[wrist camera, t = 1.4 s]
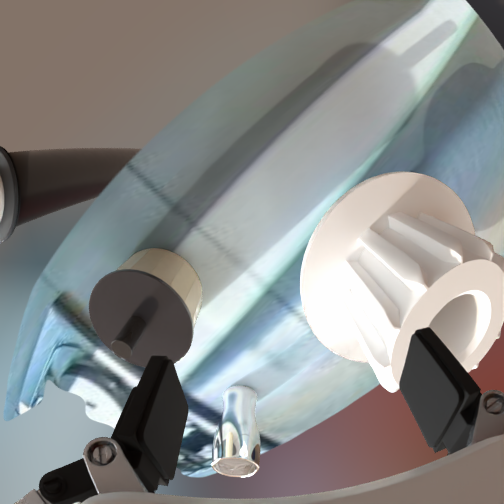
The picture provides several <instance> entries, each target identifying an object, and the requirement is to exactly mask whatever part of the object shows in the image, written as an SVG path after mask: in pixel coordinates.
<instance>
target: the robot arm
mask: <svg viewBox="0 0 504 504" xmlns="http://www.w3.org/2000/svg"><path fill="white" fill-rule="evenodd" d="M3 211H4V187H3V182H2V179H1V176H0V221H1V219H2V216H3ZM399 387H400V390H401V392H402V394H403V396H404V398H405V400H406V402H407V404H408V406H409V408H410V410H411V412H412V414H413V415H414V417H415V420H416V421H417V423H418V426H419V427H420V429H421V432H422V434H423V436H424V438H425V440H426V442H427V444H428V446H429V447H431V448H433V450H434V452H435V453H436V452H438V451H441V450H443V449H445V448H447V450H448V454H447V456H446V457H444V458H441V459H439V460H436V461H434V462H431V463H428V464H426V465H423V466H421V467H418V468H415V469H412V470H410V471H407V472H404V473H401V474H397V475H394V476H391V477H388V478H385V479H381V480H377V481H374V482H370V483H366V484H362V485H357V486H353V487H348V488H344V489H339V490H333V491H328V492H322V493H315V494H308V495H300V496H291V497H279V498H264V499H214V498H195V497H184V496H174V495H164V494H157V493H156V490H157V488H158V485H164V486H168V483H169V480H173V478H174V475H175V470H176V466H177V461H178V456H179V452H180V447H181V443H182V438H183V434H184V429H185V425H186V420H187V416H188V404H187V401H186V399H185V396H184V393H183V390H182V387H181V385H180V382H179V379H178V376H177V373H176V370H175V367H174V364H173V361H172V360H171V359H168V357H167V356H156V355H153V356H151V358H150V360H149V362H148V364H147V366H146V368H145V370H144V373H143V375H142V377H141V379H140V381H139V384H138V386H137V387H134V388H133V389H132V391H131V393H130V395H129V398H128V400H127V402H126V404H125V407H124V409H123V411H122V413H121V416H120V418H119V420H118V422H117V425H116V427H115V429H114V432H113V434H112V436H111V438H108V437H100V438H96V439H94V440H92V441H90V442H89V443H88V444H87V445H86V447H85V449H84V453H83V456H84V458H82V459H80V460H78V461H76V462H73V463H71V464H68V465H66V466H64V467H61V468H58V469H56V470H53V471H51V472H48V473H47V474H45V475H44V476H43V477H42V478H41V480H40V483H39V490H38V491H36V490H35V489H33V490H32V491H31V492H29V493H28V494H27V495H25V496H24V497H23V498H21V499H20V500H19V501H17V502H16V503H14V504H504V393H502V392H501V391H497V390H489V391H487V392H485V393H484V394H483V395H482V394H481V393H480V390H481V389H480V388H479V387H478V385H477V384H476V383H475V382H474V380H473V379H472V378H471V376H470V375H469V374H468V372H467V371H466V370H465V369H464V367H463V366H462V365H461V364H460V362H459V361H458V360H457V359H456V358H455V356H454V355H453V354H452V353H451V351H450V350H449V349H448V348H447V347H446V345H445V344H444V343H443V342H442V341H441V340H440V338H439V337H438V336H437V335H436V334H435V333H434V331H433V330H432V329H431V328H430V327H426V328H422V329H418V330H416V331H415V333H414V334H412V336H411V340H410V344H409V348H408V352H407V356H406V360H405V364H404V367H403V371H402V374H401V378H400V381H399Z"/></svg>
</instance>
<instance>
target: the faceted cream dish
mask: <svg viewBox="0 0 504 504" xmlns="http://www.w3.org/2000/svg"><path fill="white" fill-rule="evenodd" d="M122 269H134V270H140V271H144V272H147V273H150V274H152V275H154V276H156V277H158V278H160V279H161V280H163V281H164V282H166V283H167V284H168V285H170V286H171V287H172V288H173V289H174V290H175V291H176V292H177V293H178V294H179V295H180V297H181V298H182V299H183V300H184V302H185V304H186V305H187V307H188V309H189V312H190V314H191V317H192V320H193V326H195V323H196V320H197V317H198V315H199V312H200V309H201V303H202V286H201V282H200V280H199V277H198V275H197V274H196V272H195V270H194V269H193V268H192V266H191V265H190V264H189V263H188V262H187V261H186V260H184V259H183V258H182V257H180V256H179V255H177V254H175V253H173V252H171V251H168V250H164V249H158V248H150V249H145V250H142V251H139V252H136V253H135V254H134V255H132V256H131V257H130V258H129V259H128V260H127V261H126V262H124V263H123V264H122V265H121V266H120V267H119V268H118V269H117V270H122ZM117 270H115V271H117Z"/></svg>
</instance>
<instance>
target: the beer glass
mask: <svg viewBox="0 0 504 504" xmlns="http://www.w3.org/2000/svg"><path fill="white" fill-rule="evenodd" d="M222 401H223V412H222V415H221V418H220V421H219V423H218V426H217V429H216V432H215V435H214V441H213V449H212V468H213V469H214V470H215V471H216V472H218V473H220V474H223V475H226V476H233V477H243V476H249V475H252V474H254V473H256V472H257V471H258V470H259V460H260V436H259V430H258V426H257V422H256V417H255V407H256V403H257V394H256V392H255V391H254V390H253V389H251V388H249V387H246V386H240V385H238V386H231V387H229V388H227V389H226V390H225V391H224V392H223V394H222Z"/></svg>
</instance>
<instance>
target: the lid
mask: <svg viewBox="0 0 504 504" xmlns="http://www.w3.org/2000/svg"><path fill="white" fill-rule="evenodd" d="M89 313H90V318H91V321H92V324H93V327H94V329H95V331H96V333H97V334H98V336H99V337H100V339H101V340H102V342H103V343H104V344H105V345H106V346H107V347H108V348H109V349H110V350H111V351H112V352H114V354H115V355H117V356H118V357H120V358H122V359H124V360H126V361H128V362H130V363H133V364H135V365H139V366H143V367H146V366H147V364H148V362H149V360H150V358H151V356H153V355H156V356H167V357H168V359H171V360H172V361H173V364H174V363H176V362H178V361H179V360H181V359H182V358H183V357H184V356H185V355H186V353H187V352H188V350H189V348H190V346H191V343H192V340H193V334H194V326H193V320H192V317H191V314H190V312H189V309H188V307H187V305H186V304H185V302H184V300H183V299H182V298H181V297H180V295H179V294H178V293H177V292H176V291H175V290H174V289H173V288H172V287H171V286H170V285H168V284H167V283H166V282H164V281H163V280H161V279H160V278H158V277H156V276H154V275H152V274H150V273H147V272H144V271H140V270H134V269H122V270H117V271H114V272H111V273H109V274H107V275H105V276H104V277H103V278H102V279H100V280H99V281H98V283H97V284H96V285H95V287H94V288H93V290H92V293H91V295H90V300H89Z"/></svg>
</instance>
